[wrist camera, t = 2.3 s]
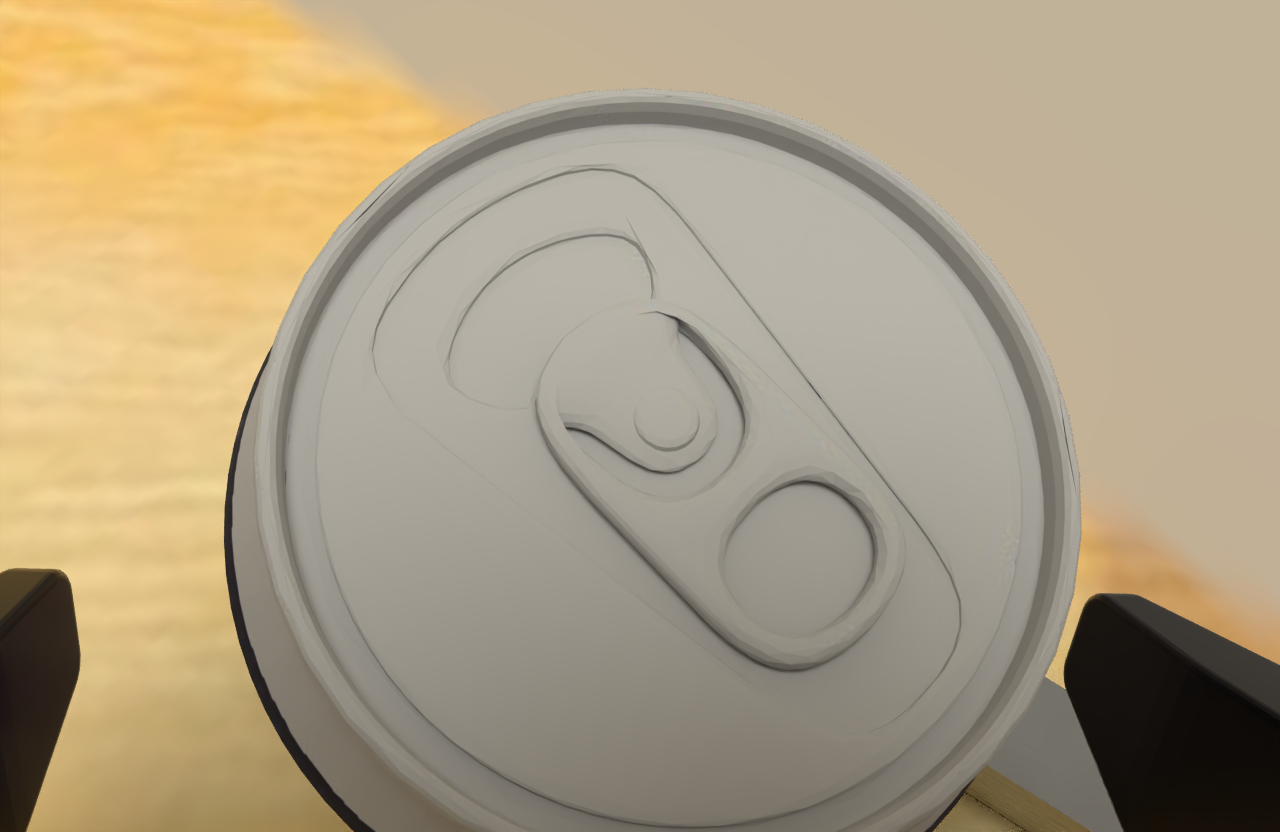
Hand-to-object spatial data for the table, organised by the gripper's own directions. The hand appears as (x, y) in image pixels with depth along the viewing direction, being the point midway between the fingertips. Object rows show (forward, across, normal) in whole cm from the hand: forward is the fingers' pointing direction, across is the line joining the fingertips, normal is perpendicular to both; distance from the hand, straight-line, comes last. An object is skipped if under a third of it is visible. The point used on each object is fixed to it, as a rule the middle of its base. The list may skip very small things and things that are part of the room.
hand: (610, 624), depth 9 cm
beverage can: (+6, 0, +6) cm, 9 cm away
